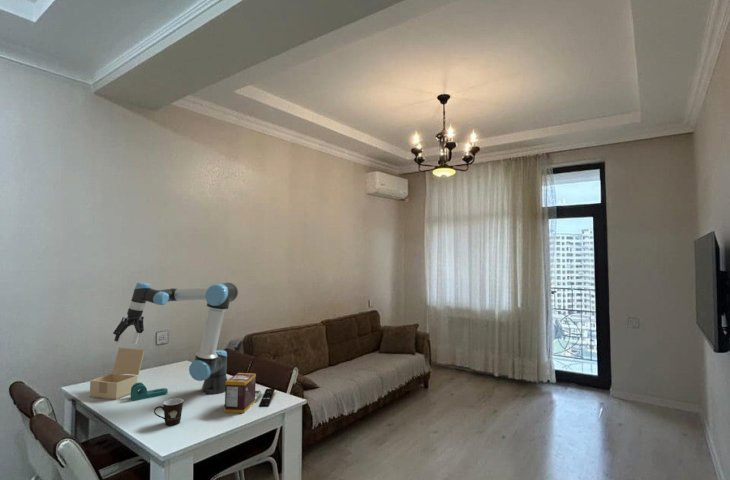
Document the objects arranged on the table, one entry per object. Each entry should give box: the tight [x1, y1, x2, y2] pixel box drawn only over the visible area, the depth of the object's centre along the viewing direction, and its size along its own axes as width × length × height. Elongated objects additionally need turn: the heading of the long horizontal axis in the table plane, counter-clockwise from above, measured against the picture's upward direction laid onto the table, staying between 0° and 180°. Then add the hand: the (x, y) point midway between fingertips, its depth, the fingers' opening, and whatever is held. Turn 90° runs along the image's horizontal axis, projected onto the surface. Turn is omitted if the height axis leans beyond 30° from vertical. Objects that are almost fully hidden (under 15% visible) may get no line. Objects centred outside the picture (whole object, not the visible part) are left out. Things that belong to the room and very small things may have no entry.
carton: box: [89, 372, 138, 401], centre depth 219 cm, size 14×18×9 cm
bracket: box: [130, 382, 169, 402], centre depth 217 cm, size 18×7×8 cm, turn 130°
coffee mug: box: [153, 398, 184, 427], centre depth 182 cm, size 12×9×10 cm
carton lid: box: [112, 347, 145, 376], centre depth 229 cm, size 14×18×1 cm
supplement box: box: [224, 372, 257, 414], centre depth 203 cm, size 10×15×16 cm
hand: (124, 345), depth 221 cm, fingers open, 13 cm apart
